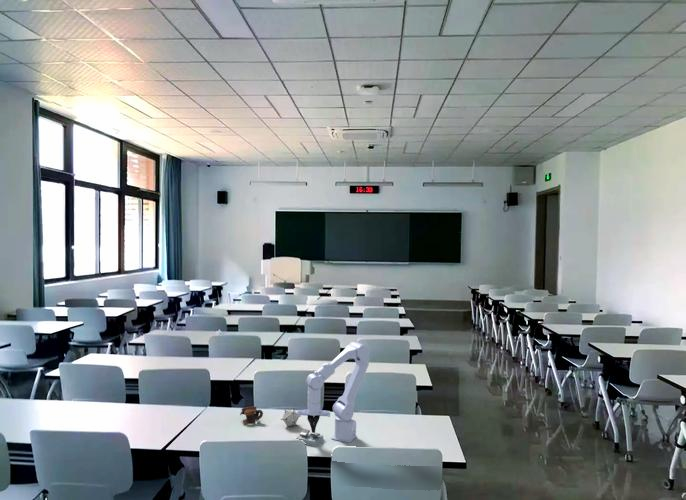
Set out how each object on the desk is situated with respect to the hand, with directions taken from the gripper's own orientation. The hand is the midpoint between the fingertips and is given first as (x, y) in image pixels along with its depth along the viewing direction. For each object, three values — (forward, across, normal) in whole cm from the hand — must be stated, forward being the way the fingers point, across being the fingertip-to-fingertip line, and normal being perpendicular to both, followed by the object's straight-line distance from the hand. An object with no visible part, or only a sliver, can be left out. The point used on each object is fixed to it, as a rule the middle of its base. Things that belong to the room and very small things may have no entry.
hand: (313, 431), depth 214 cm
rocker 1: (+2, +4, -3) cm, 6 cm away
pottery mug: (+6, +33, -22) cm, 40 cm away
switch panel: (+5, +2, -2) cm, 6 cm away
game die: (+6, +13, -18) cm, 23 cm away
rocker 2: (+2, 0, -2) cm, 3 cm away
